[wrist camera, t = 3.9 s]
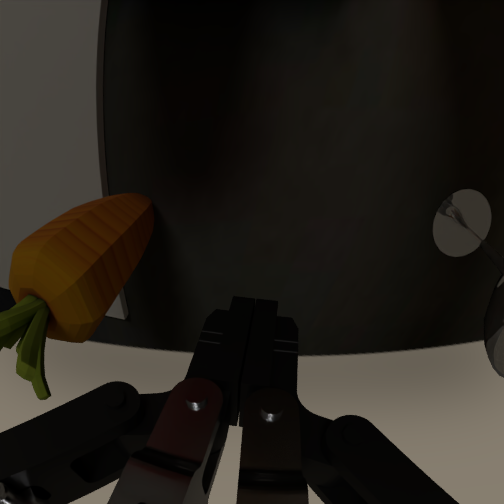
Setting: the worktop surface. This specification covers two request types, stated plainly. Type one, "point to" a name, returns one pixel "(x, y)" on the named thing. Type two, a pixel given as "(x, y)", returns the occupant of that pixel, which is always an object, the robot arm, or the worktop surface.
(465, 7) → the worktop surface
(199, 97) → the worktop surface
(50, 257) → the carrot
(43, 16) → the rubber mat
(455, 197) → the wineglass
